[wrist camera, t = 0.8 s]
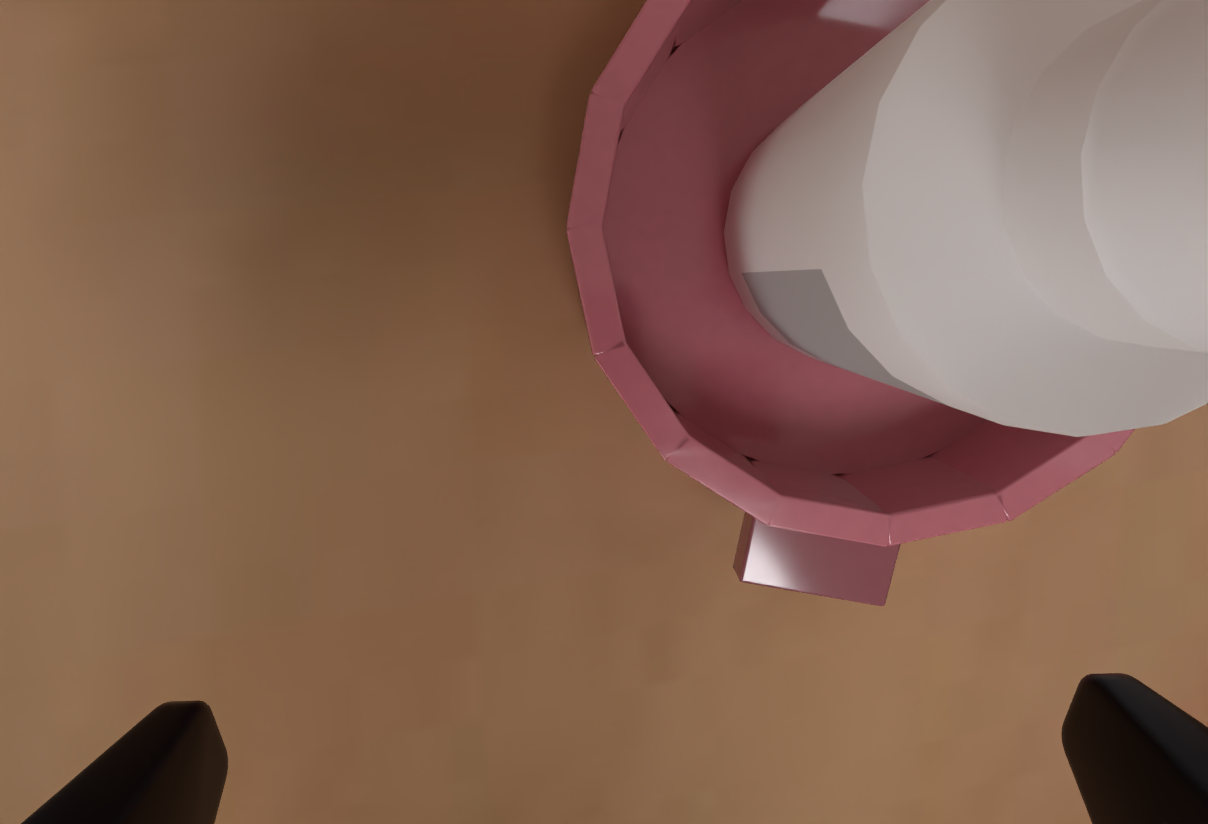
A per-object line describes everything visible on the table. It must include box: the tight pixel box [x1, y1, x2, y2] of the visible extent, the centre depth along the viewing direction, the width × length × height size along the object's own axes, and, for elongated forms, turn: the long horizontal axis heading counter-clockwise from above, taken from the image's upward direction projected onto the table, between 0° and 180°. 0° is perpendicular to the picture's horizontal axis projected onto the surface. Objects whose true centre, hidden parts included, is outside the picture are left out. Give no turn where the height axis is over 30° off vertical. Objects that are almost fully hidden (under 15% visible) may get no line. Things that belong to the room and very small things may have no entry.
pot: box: [566, 0, 1135, 606], centre depth 20 cm, size 18×15×4 cm
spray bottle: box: [724, 0, 1208, 437], centre depth 13 cm, size 7×7×18 cm
